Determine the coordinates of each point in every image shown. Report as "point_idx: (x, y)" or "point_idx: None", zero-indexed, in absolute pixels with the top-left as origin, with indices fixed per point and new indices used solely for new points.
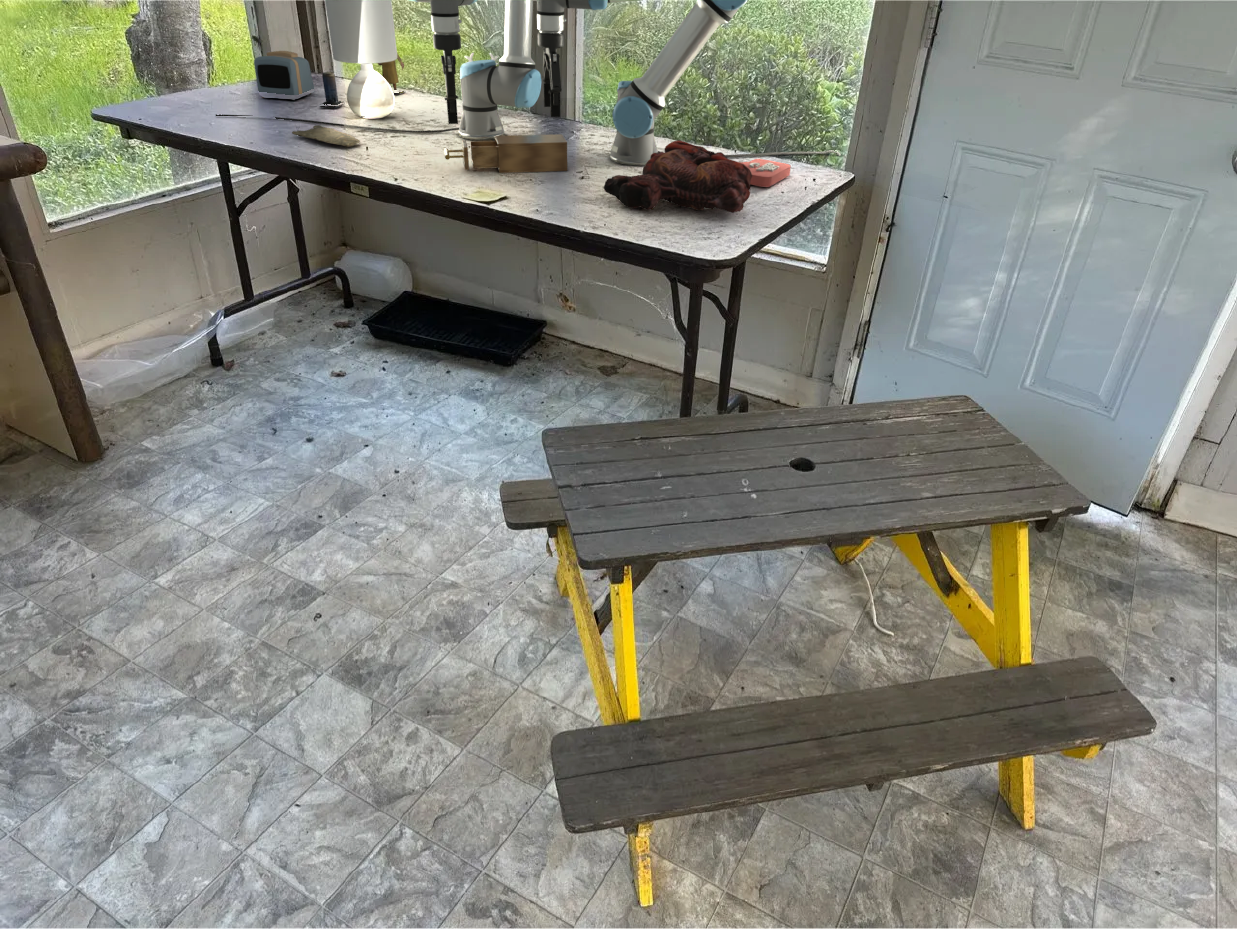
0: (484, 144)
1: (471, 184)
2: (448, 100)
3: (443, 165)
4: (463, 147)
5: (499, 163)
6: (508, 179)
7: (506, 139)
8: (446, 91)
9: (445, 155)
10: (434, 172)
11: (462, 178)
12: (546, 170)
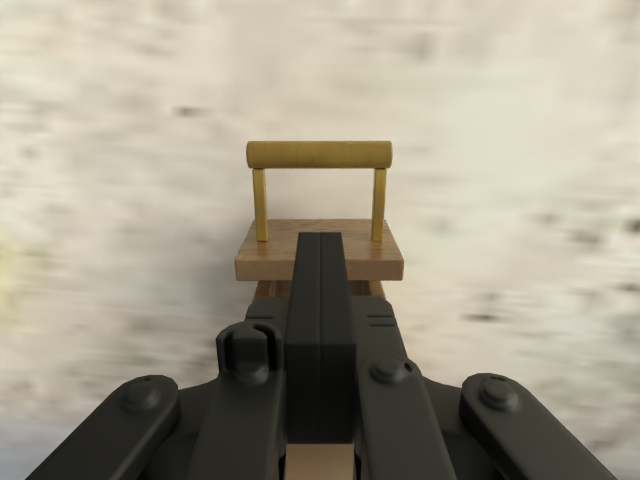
0: None
1: (87, 228)
2: (282, 359)
3: (398, 123)
4: (237, 259)
5: None
6: (166, 360)
7: (318, 463)
8: (361, 427)
9: (249, 146)
10: (277, 72)
11: (175, 198)
12: None
